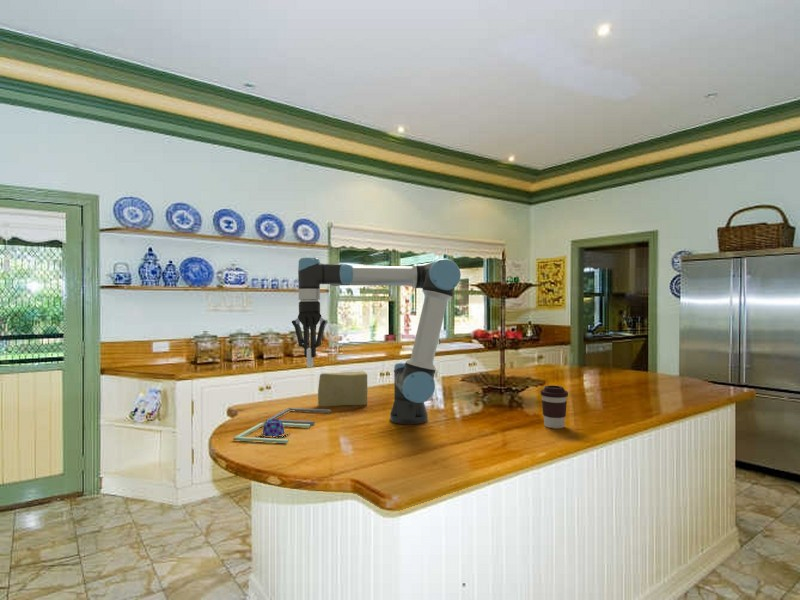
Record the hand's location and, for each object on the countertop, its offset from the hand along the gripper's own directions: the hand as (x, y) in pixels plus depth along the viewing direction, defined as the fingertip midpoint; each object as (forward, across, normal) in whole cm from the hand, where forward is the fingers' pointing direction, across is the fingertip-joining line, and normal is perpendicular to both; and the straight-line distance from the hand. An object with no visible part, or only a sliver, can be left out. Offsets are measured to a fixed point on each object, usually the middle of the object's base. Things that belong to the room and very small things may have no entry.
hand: (310, 366), depth 166 cm
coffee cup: (+26, -88, -25) cm, 95 cm away
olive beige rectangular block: (+25, +3, -48) cm, 54 cm away
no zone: (+24, +12, -22) cm, 35 cm away
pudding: (+25, +13, +2) cm, 28 cm away
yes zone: (+24, +13, +2) cm, 28 cm away
